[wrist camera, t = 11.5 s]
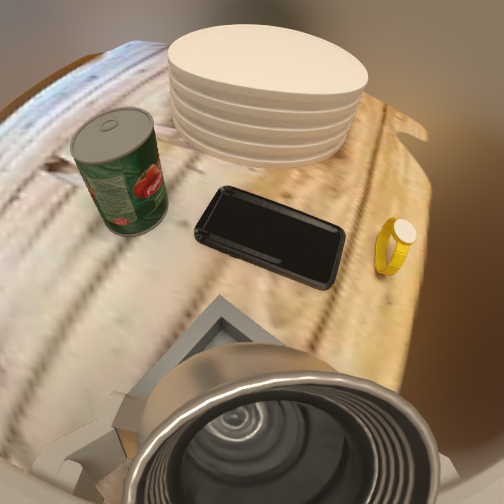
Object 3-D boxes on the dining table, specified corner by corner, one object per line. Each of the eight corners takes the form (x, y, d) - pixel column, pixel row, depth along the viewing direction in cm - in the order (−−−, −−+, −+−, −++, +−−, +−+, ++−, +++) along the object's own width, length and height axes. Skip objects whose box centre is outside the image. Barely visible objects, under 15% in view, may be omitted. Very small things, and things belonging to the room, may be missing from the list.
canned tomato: (178, 220, 30) (164, 139, 20) (111, 248, 28) (71, 176, 18) (157, 173, 33) (143, 98, 23) (98, 196, 31) (68, 126, 21)
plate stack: (232, 64, 51) (236, 17, 41) (360, 110, 46) (379, 60, 36) (136, 128, 38) (123, 62, 28) (311, 202, 33) (342, 125, 23)
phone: (222, 183, 32) (347, 229, 30) (222, 189, 33) (344, 235, 31) (189, 236, 28) (332, 291, 27) (190, 241, 29) (328, 296, 28)
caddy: (130, 412, 20) (108, 414, 16) (219, 313, 25) (219, 294, 21) (252, 504, 17) (259, 525, 13) (337, 400, 22) (362, 398, 18)
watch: (388, 284, 29) (417, 263, 24) (367, 278, 29) (393, 255, 24) (390, 238, 31) (415, 211, 26) (370, 231, 32) (393, 203, 26)
